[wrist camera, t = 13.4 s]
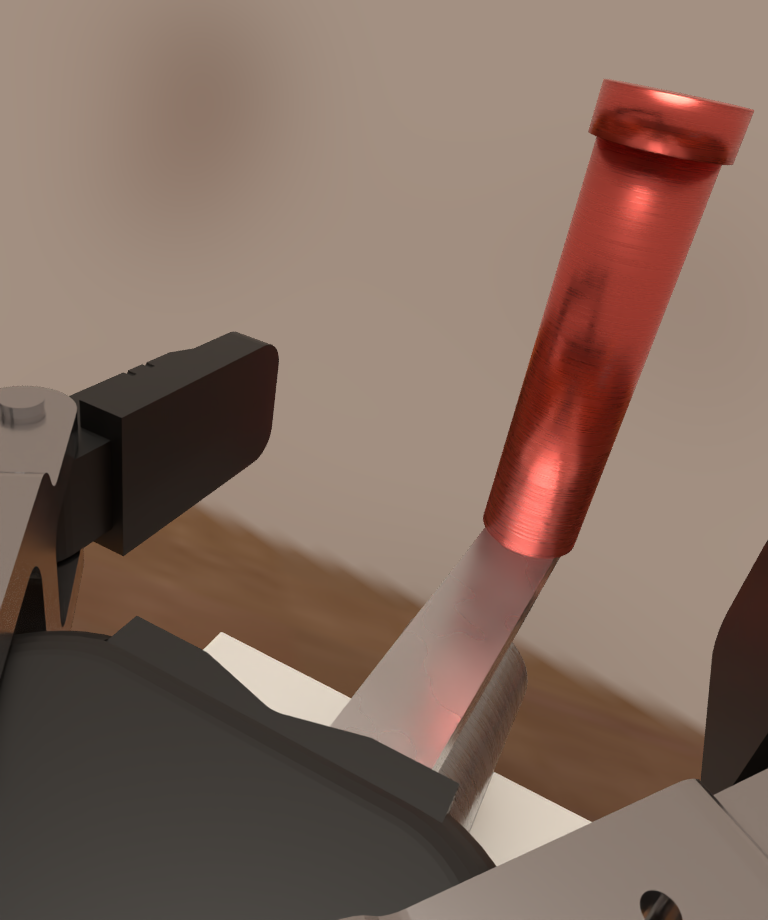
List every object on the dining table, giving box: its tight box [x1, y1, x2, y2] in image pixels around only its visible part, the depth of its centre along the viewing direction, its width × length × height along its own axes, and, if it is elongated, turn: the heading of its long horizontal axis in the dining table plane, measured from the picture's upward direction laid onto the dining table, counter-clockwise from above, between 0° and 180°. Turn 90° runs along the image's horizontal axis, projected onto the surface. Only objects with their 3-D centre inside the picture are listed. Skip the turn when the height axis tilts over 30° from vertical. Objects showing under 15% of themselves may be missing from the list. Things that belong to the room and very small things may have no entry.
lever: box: [329, 79, 754, 772], centre depth 13 cm, size 17×3×12 cm, turn 152°
